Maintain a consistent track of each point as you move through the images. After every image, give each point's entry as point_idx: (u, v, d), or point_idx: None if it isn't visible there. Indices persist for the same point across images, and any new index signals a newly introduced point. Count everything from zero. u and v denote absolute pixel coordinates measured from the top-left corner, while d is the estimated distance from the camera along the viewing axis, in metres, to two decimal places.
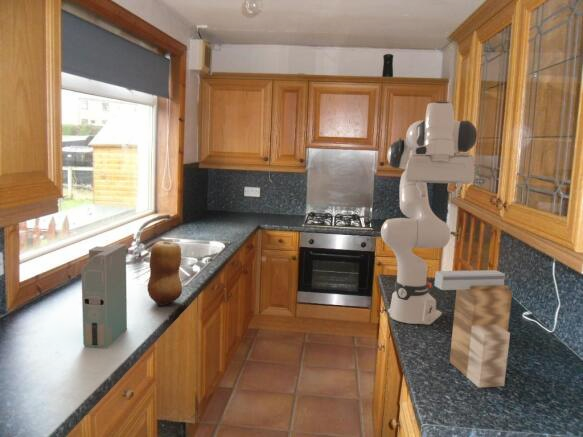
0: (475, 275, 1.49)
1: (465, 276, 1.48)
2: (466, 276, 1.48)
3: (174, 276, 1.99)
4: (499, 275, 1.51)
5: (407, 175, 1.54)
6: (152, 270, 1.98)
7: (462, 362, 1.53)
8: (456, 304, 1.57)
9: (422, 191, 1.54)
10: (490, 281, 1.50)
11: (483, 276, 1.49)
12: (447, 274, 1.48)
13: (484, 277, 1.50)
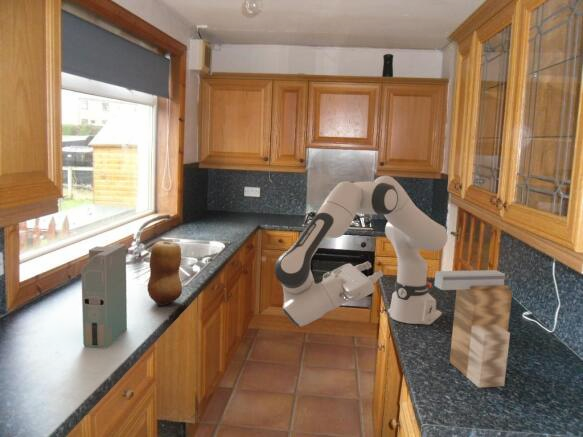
0: (475, 275, 1.49)
1: (465, 276, 1.48)
2: (466, 276, 1.48)
3: (174, 276, 1.99)
4: (499, 275, 1.51)
5: None
6: (152, 270, 1.98)
7: (462, 362, 1.53)
8: (456, 304, 1.57)
9: None
10: (490, 281, 1.50)
11: (483, 276, 1.49)
12: (447, 274, 1.48)
13: (484, 277, 1.50)
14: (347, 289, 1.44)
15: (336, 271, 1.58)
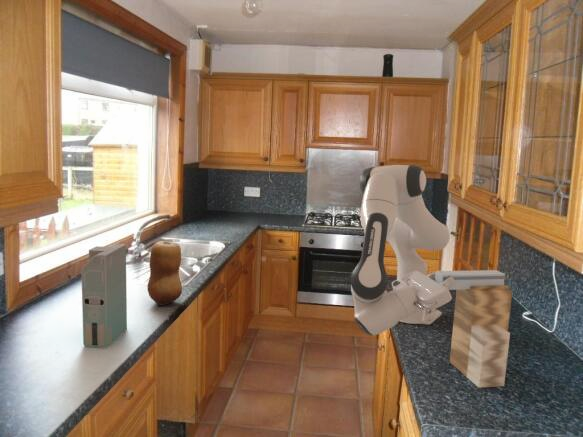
0: (475, 275, 1.49)
1: (465, 276, 1.48)
2: (466, 276, 1.48)
3: (174, 276, 1.99)
4: (499, 275, 1.50)
5: None
6: (152, 270, 1.98)
7: (462, 362, 1.53)
8: (456, 304, 1.57)
9: None
10: (490, 281, 1.50)
11: (483, 276, 1.49)
12: (447, 274, 1.48)
13: (484, 277, 1.50)
14: (423, 297, 1.41)
15: (404, 279, 1.56)
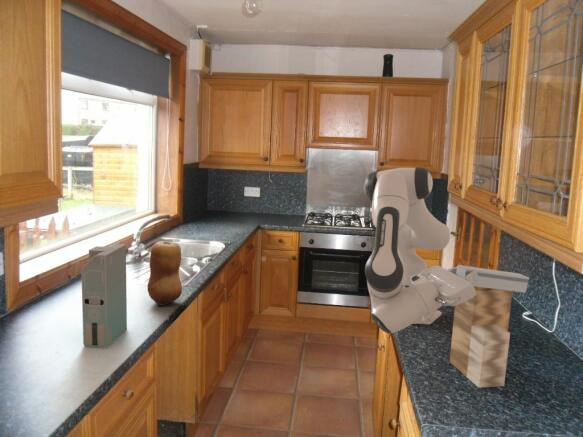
0: (499, 274, 1.41)
1: (488, 273, 1.40)
2: (489, 274, 1.40)
3: (174, 276, 1.99)
4: (523, 278, 1.43)
5: None
6: (152, 270, 1.97)
7: (462, 362, 1.53)
8: None
9: None
10: (513, 282, 1.42)
11: (507, 276, 1.41)
12: (470, 269, 1.40)
13: (507, 278, 1.42)
14: (445, 293, 1.33)
15: (424, 273, 1.47)
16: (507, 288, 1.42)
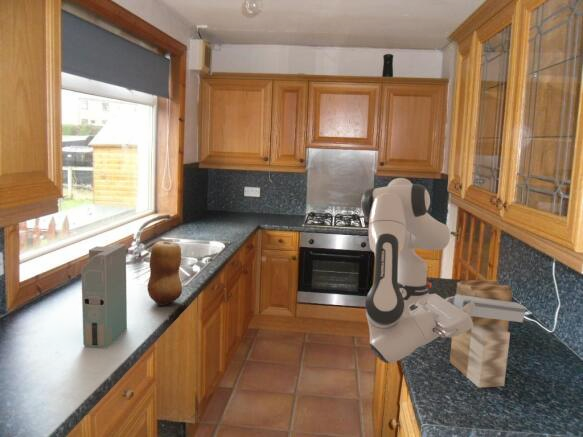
0: (496, 304, 1.42)
1: (486, 304, 1.41)
2: (487, 304, 1.41)
3: (174, 276, 1.99)
4: (520, 308, 1.44)
5: None
6: (152, 270, 1.98)
7: (462, 362, 1.53)
8: None
9: None
10: (510, 312, 1.43)
11: (504, 306, 1.43)
12: (468, 299, 1.41)
13: (504, 308, 1.43)
14: (443, 324, 1.34)
15: (422, 302, 1.48)
16: (504, 318, 1.43)
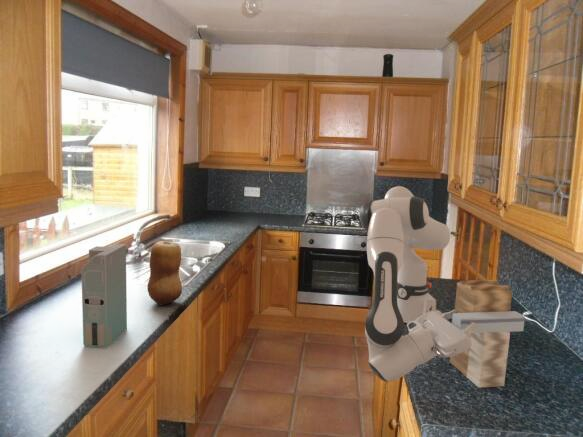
0: (494, 318, 1.43)
1: (484, 319, 1.42)
2: (485, 319, 1.42)
3: (174, 276, 1.99)
4: (519, 317, 1.44)
5: None
6: (152, 270, 1.98)
7: (462, 362, 1.53)
8: (456, 304, 1.57)
9: None
10: (509, 323, 1.44)
11: (502, 319, 1.43)
12: (465, 317, 1.42)
13: (503, 320, 1.43)
14: (441, 344, 1.35)
15: (420, 320, 1.49)
16: (504, 330, 1.44)
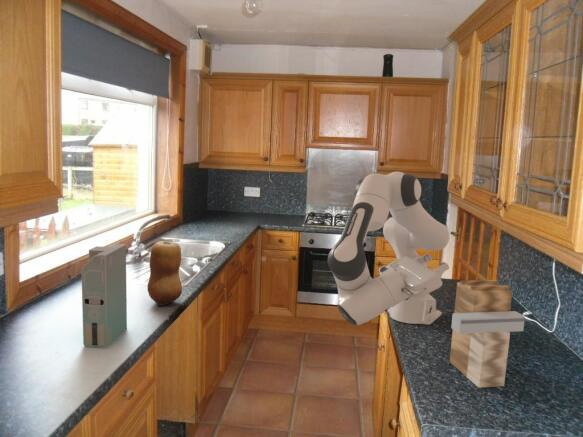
0: (494, 318, 1.43)
1: (484, 319, 1.42)
2: (485, 319, 1.42)
3: (174, 276, 1.99)
4: (519, 317, 1.44)
5: None
6: (152, 270, 1.98)
7: (462, 362, 1.53)
8: (456, 304, 1.57)
9: None
10: (509, 323, 1.44)
11: (502, 319, 1.43)
12: (465, 317, 1.42)
13: (503, 320, 1.43)
14: (411, 283, 1.30)
15: (393, 264, 1.45)
16: (504, 330, 1.44)
